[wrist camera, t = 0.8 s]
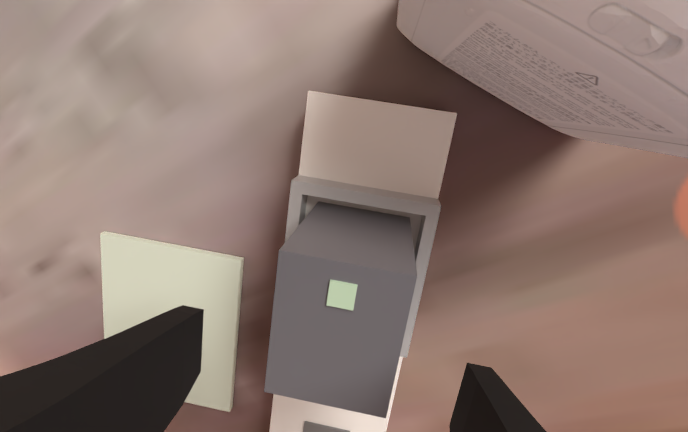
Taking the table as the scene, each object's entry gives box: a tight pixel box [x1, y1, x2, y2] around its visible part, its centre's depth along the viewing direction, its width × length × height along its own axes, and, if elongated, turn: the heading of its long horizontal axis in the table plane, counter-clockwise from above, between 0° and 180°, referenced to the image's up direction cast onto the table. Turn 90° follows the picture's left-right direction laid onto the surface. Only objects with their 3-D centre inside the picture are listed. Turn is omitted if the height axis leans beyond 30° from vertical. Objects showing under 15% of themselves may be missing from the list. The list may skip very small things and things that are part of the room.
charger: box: [264, 201, 417, 418], centre depth 15 cm, size 5×4×6 cm
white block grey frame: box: [269, 90, 457, 432], centre depth 19 cm, size 22×6×4 cm, turn 171°
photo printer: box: [397, 0, 688, 159], centre depth 11 cm, size 10×4×12 cm, turn 61°
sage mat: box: [100, 231, 244, 412], centre depth 23 cm, size 10×8×1 cm
